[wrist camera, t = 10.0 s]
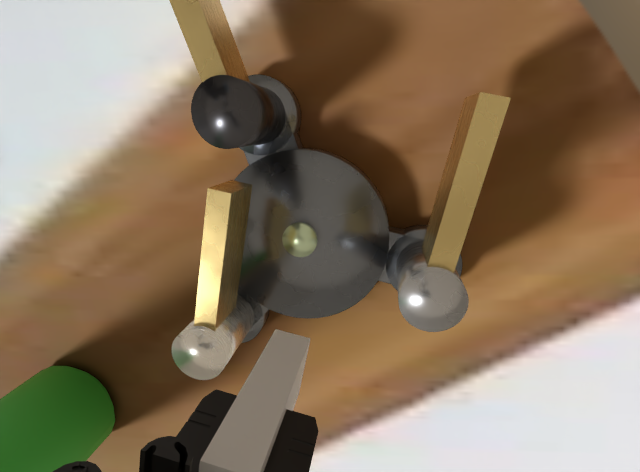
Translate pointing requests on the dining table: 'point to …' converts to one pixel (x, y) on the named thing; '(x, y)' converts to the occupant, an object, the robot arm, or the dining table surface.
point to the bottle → (53, 420)
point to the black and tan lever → (225, 82)
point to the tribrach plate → (312, 227)
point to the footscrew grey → (450, 221)
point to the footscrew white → (218, 286)
